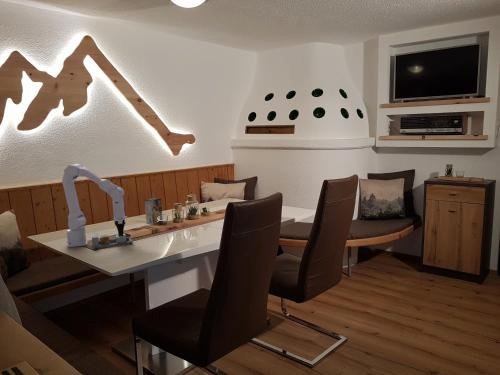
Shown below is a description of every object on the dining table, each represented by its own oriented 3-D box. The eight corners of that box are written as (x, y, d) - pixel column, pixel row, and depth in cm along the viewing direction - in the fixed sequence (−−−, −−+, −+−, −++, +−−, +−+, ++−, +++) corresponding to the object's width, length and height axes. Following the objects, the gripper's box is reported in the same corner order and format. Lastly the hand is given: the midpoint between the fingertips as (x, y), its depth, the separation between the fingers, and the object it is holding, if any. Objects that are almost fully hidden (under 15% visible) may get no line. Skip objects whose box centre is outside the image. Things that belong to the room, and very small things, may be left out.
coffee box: (156, 220, 266) (154, 197, 264) (162, 221, 262) (161, 198, 260) (146, 223, 258) (144, 199, 256) (152, 224, 255) (151, 200, 252)
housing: (100, 246, 206) (99, 237, 206) (100, 244, 211) (99, 235, 210) (109, 245, 208) (108, 236, 207) (109, 243, 212) (108, 234, 211)
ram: (116, 245, 208) (115, 229, 206) (116, 241, 215) (115, 226, 214) (126, 243, 209) (125, 228, 208) (125, 240, 217) (124, 225, 216)
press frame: (92, 249, 202) (91, 238, 201) (93, 244, 212) (92, 233, 211) (132, 244, 209) (131, 233, 208) (131, 239, 219) (130, 229, 218)
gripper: (127, 211, 204) (129, 236, 206) (125, 206, 218) (127, 230, 220) (113, 212, 202) (115, 237, 204) (112, 207, 215) (114, 231, 217)
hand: (120, 233), depth 211 cm, fingers open, 3 cm apart
